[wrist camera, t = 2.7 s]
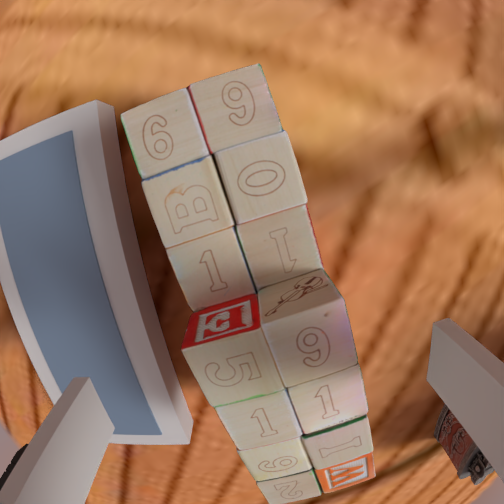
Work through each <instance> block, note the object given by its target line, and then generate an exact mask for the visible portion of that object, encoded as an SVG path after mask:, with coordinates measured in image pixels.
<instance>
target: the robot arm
mask: <svg viewBox="0 0 504 504" xmlns="http://www.w3.org/2000/svg"><path fill="white" fill-rule="evenodd" d="M426 380H427V381H428V383H429V384H430V385H431V386H432V388H433V389H434V390H435V391H436V393H437V394H438V395H439V396H440V398H441V399H442V400H443V401H444V403H445V404H446V405H447V407H448V408H449V409H450V410H451V412H452V413H453V414H454V416H455V417H456V418H457V420H458V421H459V422H460V424H461V425H462V426H463V427H464V429H465V430H466V431H467V433H468V434H469V435H470V437H471V438H472V439H473V441H474V442H475V444H476V445H477V446H478V448H479V449H480V450H481V452H482V453H483V454H484V456H485V457H486V459H487V460H488V461H489V463H490V464H491V466H492V467H493V468H494V470H495V471H496V473H497V474H498V475H499V477H500V478H501V480H502V481H503V483H504V363H503V362H502V361H501V360H499V359H498V358H497V357H496V356H495V355H494V354H492V353H491V352H490V351H489V350H488V349H487V348H485V347H484V346H483V345H482V344H481V343H479V342H478V341H477V340H476V339H475V338H473V337H472V336H471V335H470V334H468V333H467V332H466V331H465V330H464V329H462V328H461V327H460V326H459V325H457V324H456V323H455V322H454V321H452V320H451V319H450V318H446V319H443V320H440V321H437V322H434V323H433V330H432V340H431V349H430V357H429V365H428V372H427V379H426ZM114 429H115V427H114V425H113V423H112V422H111V420H110V418H109V416H108V414H107V412H106V410H105V408H104V406H103V404H102V402H101V400H100V398H99V396H98V394H97V392H96V390H95V388H94V386H93V384H92V382H91V379H90V377H74V378H73V379H72V381H71V382H70V384H69V385H68V386H67V388H66V389H65V391H64V392H63V394H62V395H61V396H60V398H59V399H58V401H57V402H56V404H55V405H54V407H53V408H52V410H51V411H50V413H49V414H48V416H47V417H46V419H45V420H44V422H43V423H42V425H41V426H40V428H39V429H38V431H37V432H36V434H35V435H34V437H33V438H32V440H31V441H30V443H29V444H26V445H24V446H23V447H22V448H21V449H20V450H19V451H17V453H16V454H15V456H14V457H13V459H12V461H11V464H9V465H8V467H7V469H6V472H4V473H3V475H2V477H1V478H0V504H85V501H86V498H87V496H88V493H89V490H90V488H91V485H92V483H93V480H94V478H95V475H96V473H97V470H98V468H99V465H100V463H101V460H102V458H103V455H104V453H105V451H106V448H107V446H108V443H109V441H110V439H111V436H112V434H113V432H114Z"/></svg>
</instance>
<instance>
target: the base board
mask: <svg viewBox="0 0 504 504" xmlns="http://www.w3.org/2000/svg"><path fill="white" fill-rule="evenodd" d="M0 282H1V285H2V288H3V291H4V294H5V297H6V300H7V303H8V306H9V309H10V311H11V314H12V317H13V319H14V322H15V324H16V327H17V329H18V332H19V334H20V337H21V339H22V341H23V344H24V346H25V348H26V350H27V353H28V355H29V357H30V359H31V361H32V363H33V366H34V368H35V370H36V372H37V374H38V376H39V378H40V380H41V382H42V384H43V386H44V387H45V389H46V391H47V393H48V395H49V397H50V399H51V400H52V402H53V404H54V405H55V404H56V402H57V401H58V399H59V398H60V396H61V395H62V394H63V392H64V391H65V389H66V388H67V386H68V385H69V384H70V382H71V381H72V379H73V378H74V377H90V379H91V382H92V384H93V386H94V388H95V390H96V392H97V394H98V396H99V398H100V400H101V402H102V404H103V406H104V408H105V410H106V412H107V414H108V416H109V418H110V420H111V422H112V423H113V425H114V427H115V429H114V432H113V434H112V436H111V439H110V441H109V443H118V444H145V445H174V444H190V438H191V432H192V427H193V419H192V416H191V414H190V411H189V409H188V406H187V403H186V401H185V398H184V395H183V392H182V390H181V387H180V384H179V381H178V378H177V375H176V373H175V370H174V367H173V364H172V361H171V358H170V355H169V352H168V349H167V345H166V342H165V339H164V336H163V333H162V329H161V326H160V323H159V320H158V316H157V313H156V309H155V306H154V302H153V299H152V295H151V292H150V288H149V284H148V280H147V277H146V273H145V269H144V265H143V261H142V257H141V253H140V249H139V244H138V240H137V236H136V231H135V227H134V222H133V218H132V213H131V208H130V203H129V198H128V193H127V188H126V182H125V177H124V171H123V166H122V160H121V154H120V147H119V141H118V134H117V127H116V119H115V112H114V107H113V106H111V105H109V104H106V103H104V102H101V101H99V100H94V101H91V102H88V103H85V104H83V105H80V106H77V107H75V108H72V109H69V110H67V111H64V112H62V113H59V114H57V115H55V116H52V117H50V118H48V119H45V120H43V121H41V122H38V123H36V124H34V125H32V126H30V127H27V128H25V129H23V130H21V131H19V132H17V133H15V134H13V135H11V136H9V137H7V138H5V139H3V140H1V141H0Z"/></svg>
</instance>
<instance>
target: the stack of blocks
mask: <svg viewBox="0 0 504 504" xmlns="http://www.w3.org/2000/svg"><path fill="white" fill-rule="evenodd" d="M121 121H122V124H123V127H124V130H125V134H126V137H127V140H128V143H129V146H130V149H131V152H132V155H133V159H134V162H135V164H136V167H137V169H138V172H139V174H140V176H141V178H142V182H141V184H142V188H143V191H144V194H145V197H146V199H147V202H148V205H149V208H150V211H151V213H152V216H153V218H154V221H155V224H156V226H157V229H158V231H159V234H160V237H161V240H162V242H163V245H164V246H165V248H166V252H167V256H168V259H169V261H170V264H171V266H172V269H173V271H174V274H175V276H176V278H177V281H178V283H179V285H180V287H181V290H182V292H183V294H184V296H185V299H186V301H187V303H188V305H189V306H190V308H191V309H192V310H193V314H192V315H191V316H190V319H189V322H188V326H187V329H186V332H185V336H184V339H183V342H182V346H181V351H182V353H183V355H184V357H185V359H186V361H187V363H188V365H189V367H190V369H191V371H192V372H193V374H194V376H195V378H196V379H197V381H198V383H199V385H200V387H201V389H202V391H203V393H204V395H205V397H206V398H207V400H208V402H209V404H210V405H211V406H213V407H214V409H215V411H216V413H217V415H218V417H219V419H220V420H221V422H222V424H223V426H224V427H225V429H226V431H227V432H228V433H229V435H230V437H231V439H232V441H233V442H234V444H235V446H236V449H237V452H238V454H239V456H240V457H241V459H242V461H243V462H244V464H245V465H246V467H247V469H248V470H249V472H250V473H251V475H252V476H253V478H254V480H256V484H257V486H258V487H259V489H260V490H261V492H262V494H263V495H264V497H265V498H266V500H267V501H268V503H269V504H283V503H288V502H293V501H298V500H302V499H307V498H311V497H316V496H319V495H321V493H322V492H323V493H329V492H333V491H336V490H339V489H343V488H346V487H349V486H352V485H355V484H358V483H361V482H363V481H366V480H369V479H371V478H374V477H375V468H374V460H373V452H372V451H373V443H372V437H371V431H370V425H369V420H368V417H367V414H366V413H367V412H368V410H369V409H368V403H367V398H366V393H365V387H364V382H363V377H362V372H361V369H360V366H359V364H358V357H357V352H356V348H355V343H354V339H353V334H352V330H351V325H350V321H349V317H348V313H347V309H346V304H345V300H344V298H343V297H342V295H341V294H340V292H339V291H338V289H337V288H336V287H335V285H334V284H333V282H332V281H331V279H330V278H329V276H328V275H327V273H326V272H325V271H324V267H323V263H322V259H321V255H320V251H319V248H318V244H317V240H316V236H315V233H314V229H313V225H312V222H311V218H310V214H309V211H308V208H307V200H308V199H307V196H306V192H305V188H304V185H303V181H302V178H301V174H300V171H299V168H298V164H297V161H296V158H295V155H294V152H293V149H292V146H291V143H290V140H289V137H288V134H287V132H286V131H285V130H283V129H282V126H281V122H280V119H279V116H278V113H277V110H276V107H275V104H274V101H273V99H272V96H271V93H270V90H269V87H268V84H267V81H266V78H265V76H264V73H263V70H262V67H261V65H260V64H255V65H251V66H247V67H244V68H240V69H237V70H233V71H230V72H227V73H224V74H221V75H218V76H214V77H211V78H207V79H205V80H202V81H199V82H196V83H193V84H190V85H189V86H188V87H187V88H183V89H180V90H177V91H174V92H171V93H169V94H166V95H164V96H161V97H159V98H156V99H154V100H151V101H149V102H147V103H145V104H142V105H139V106H137V107H135V108H133V109H130V110H128V111H126V112H124V113H122V114H121Z"/></svg>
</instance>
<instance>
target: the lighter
mask: <svg viewBox="0 0 504 504" xmlns="http://www.w3.org/2000/svg"><path fill="white" fill-rule="evenodd" d="M434 437H435V438H436V440H437V441H438V442H440V443H441V445H442V446H443V448H444V450H445V451H446V453H447V455H448V456H449V458H450V459H451V461H452V463H453V464H454V466H455V468H456V469H457V475H458V476H459V478H460V479H464V478H466V477H468V476H471V480H472V482H473V483H474V485H477V484H479V483H481V482H482V481H483V480H484V478H485V477H486V476H487V475H488V474H490V473H492V472H493V471H494V468H493V467H492V466H491V464H490V463H489V461H488V460H487V459H486V457H485V456H484V454H483V453H482V452H481V450H480V449H479V448H478V446H477V445H476V444H475V442H474V441H473V439H472V438H471V437H470V435H469V434H468V433H467V431H466V430H465V429H464V427H463V426H462V425H461V424H460V422H459V421H458V420H457V418H456V417H455V416H454V414H453V413H452V412H451V410H450V409H449V408H448V407H447V405H446V404H445V405H444V407H443V409H442V411H441V413H440V415H439V418H438V421H437V424H436V427H435V432H434Z"/></svg>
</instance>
